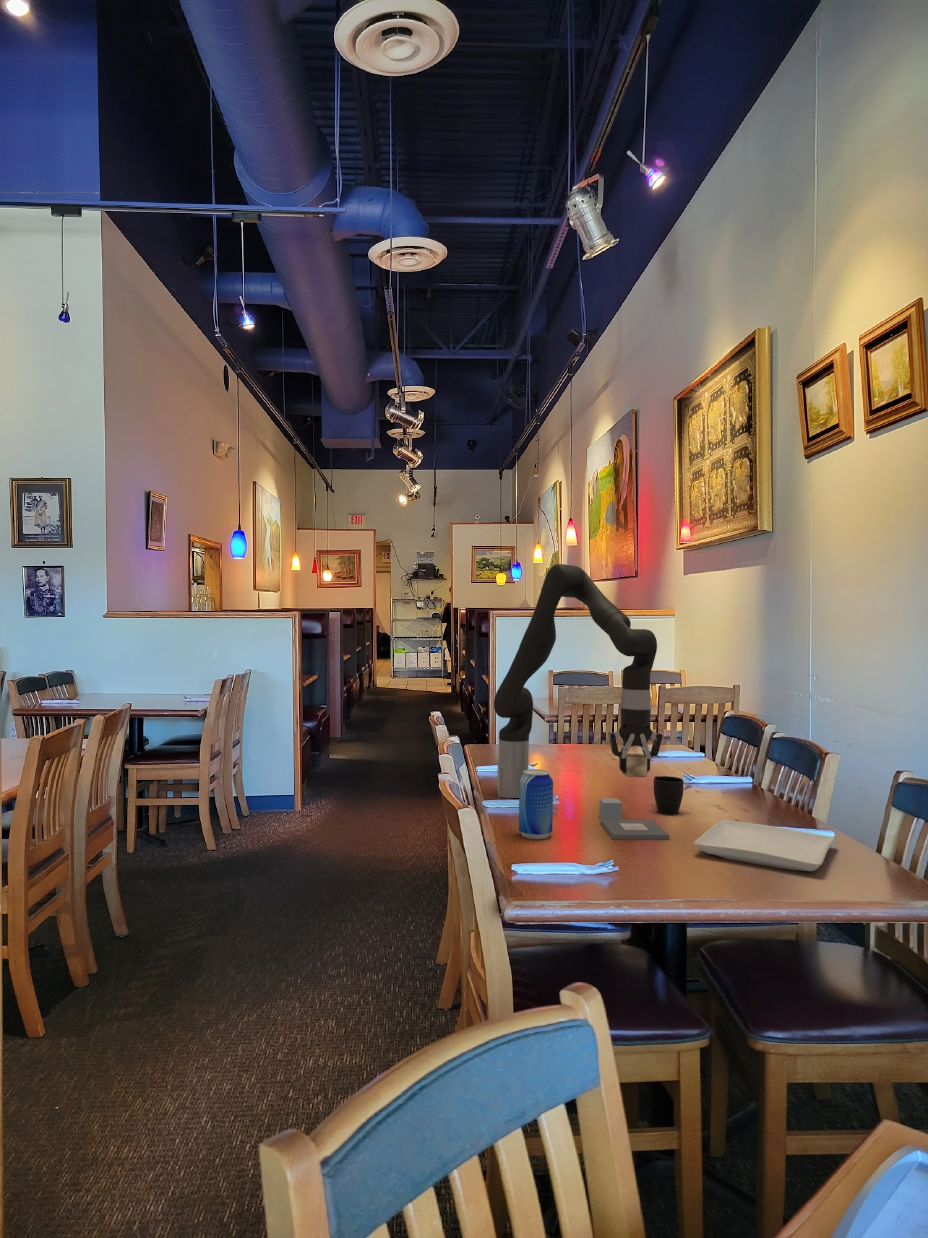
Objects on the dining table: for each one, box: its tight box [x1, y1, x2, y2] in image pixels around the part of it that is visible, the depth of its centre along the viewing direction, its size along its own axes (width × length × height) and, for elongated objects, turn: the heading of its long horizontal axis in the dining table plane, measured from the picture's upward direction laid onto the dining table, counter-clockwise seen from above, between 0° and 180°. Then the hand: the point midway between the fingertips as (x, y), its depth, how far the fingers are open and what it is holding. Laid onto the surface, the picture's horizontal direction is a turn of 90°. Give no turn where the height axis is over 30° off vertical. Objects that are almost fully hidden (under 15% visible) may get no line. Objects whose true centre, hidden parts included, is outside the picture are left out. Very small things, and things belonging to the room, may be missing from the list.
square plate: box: [693, 819, 836, 872], centre depth 182 cm, size 27×27×4 cm
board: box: [600, 819, 670, 841], centre depth 198 cm, size 14×14×1 cm
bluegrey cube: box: [598, 797, 623, 820], centre depth 211 cm, size 5×5×5 cm
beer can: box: [518, 768, 554, 840], centre depth 193 cm, size 8×8×16 cm
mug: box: [653, 775, 685, 816], centre depth 220 cm, size 8×12×10 cm
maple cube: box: [622, 753, 648, 778], centre depth 198 cm, size 5×5×5 cm
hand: (634, 772), depth 198 cm, fingers closed on maple cube, 5 cm apart
